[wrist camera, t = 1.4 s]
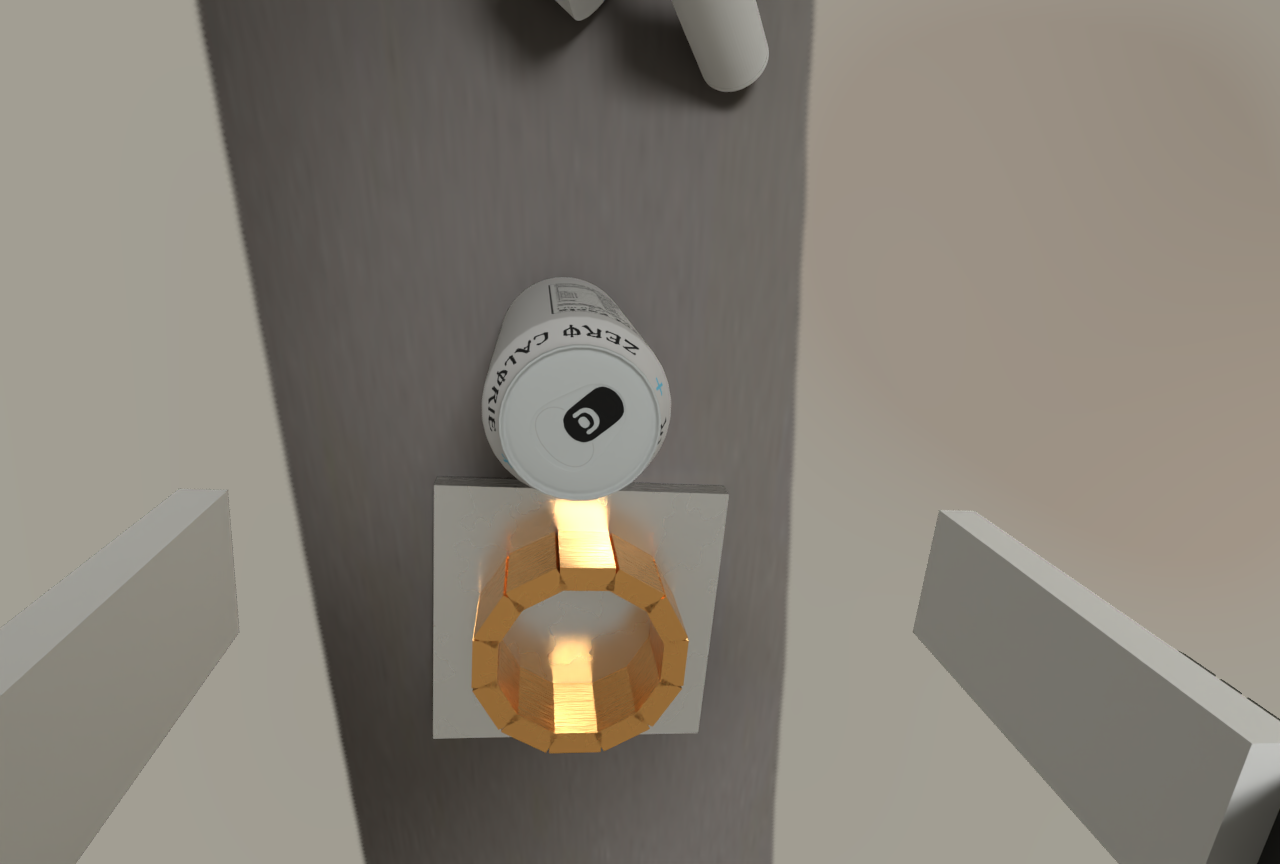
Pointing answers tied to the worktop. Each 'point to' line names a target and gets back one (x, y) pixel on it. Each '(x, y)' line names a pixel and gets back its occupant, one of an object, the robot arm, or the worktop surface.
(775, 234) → the worktop surface
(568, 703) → the keeper
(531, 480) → the energy drink can
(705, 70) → the wall hook
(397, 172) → the worktop surface
